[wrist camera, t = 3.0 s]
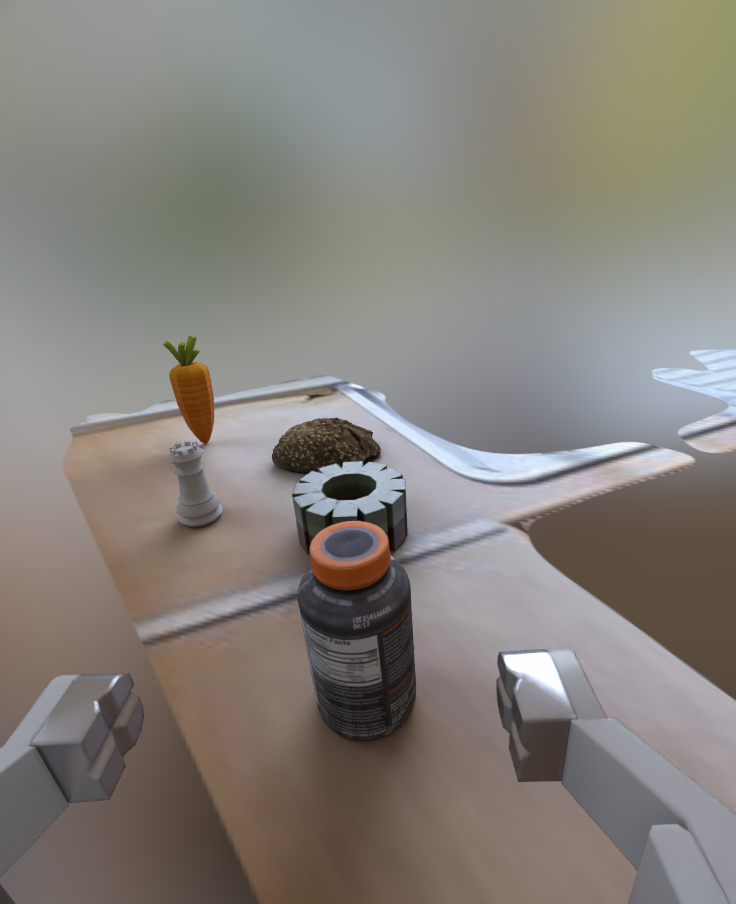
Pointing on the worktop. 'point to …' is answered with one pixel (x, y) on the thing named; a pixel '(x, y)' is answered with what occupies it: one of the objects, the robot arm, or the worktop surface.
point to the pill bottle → (358, 631)
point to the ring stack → (351, 500)
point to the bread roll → (323, 445)
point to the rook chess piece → (193, 487)
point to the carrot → (193, 389)
